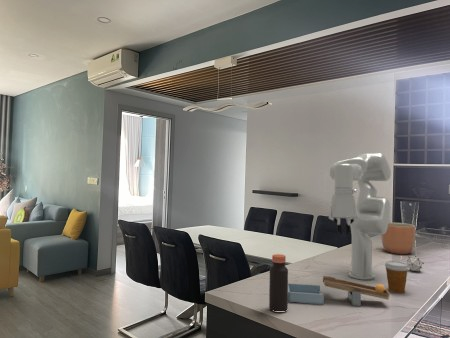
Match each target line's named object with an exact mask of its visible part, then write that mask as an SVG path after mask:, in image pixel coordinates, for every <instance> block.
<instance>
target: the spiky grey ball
mask: <svg viewBox="0 0 450 338" xmlns="http://www.w3.org/2000/svg"><path fill="white" fill-rule="evenodd" d="M406 264H407V265H408V267H409V271H412V273H414V272H421V269H423V267H422V266H423V265H424V264H425V262H422V261H421V259H420V258H419V257H417V256H416V255H415V256H414V257H413V256H412V257H410V256H408V259H407V260H406Z"/></svg>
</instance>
